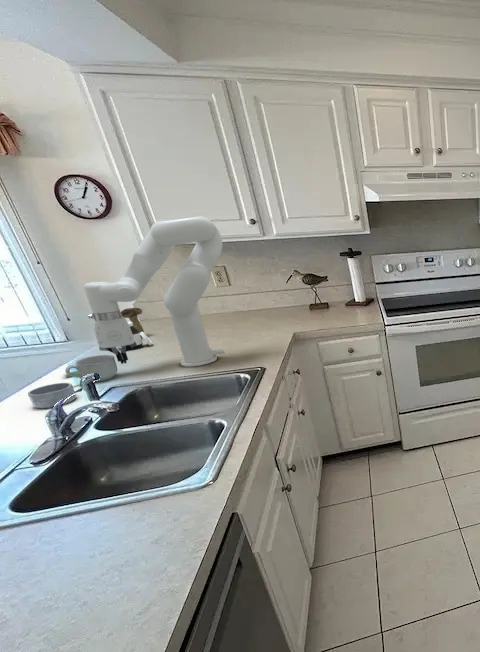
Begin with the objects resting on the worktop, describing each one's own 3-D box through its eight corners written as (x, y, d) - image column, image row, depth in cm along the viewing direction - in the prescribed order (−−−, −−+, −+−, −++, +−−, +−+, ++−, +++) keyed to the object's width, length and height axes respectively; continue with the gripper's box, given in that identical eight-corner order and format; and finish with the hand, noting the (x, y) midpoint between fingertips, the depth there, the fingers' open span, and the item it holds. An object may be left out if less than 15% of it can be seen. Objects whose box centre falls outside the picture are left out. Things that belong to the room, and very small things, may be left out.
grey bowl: (77, 393, 143) (71, 380, 141) (76, 402, 136) (70, 389, 134) (36, 402, 137) (29, 388, 135) (33, 412, 130) (26, 398, 128)
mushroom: (152, 337, 205) (142, 307, 200) (130, 341, 200) (119, 310, 194) (148, 333, 211) (139, 305, 206) (127, 337, 205) (116, 307, 200)
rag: (91, 369, 164) (91, 368, 164) (91, 373, 161) (91, 371, 160) (67, 374, 160) (66, 373, 159) (66, 378, 156) (66, 376, 156)
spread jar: (115, 349, 188) (105, 324, 184) (142, 342, 198) (134, 318, 194) (131, 352, 184) (122, 327, 180) (158, 344, 194) (150, 320, 190)
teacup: (117, 371, 163) (110, 352, 160) (124, 377, 156) (116, 358, 153) (69, 382, 153) (60, 362, 150) (73, 389, 146) (64, 368, 143)
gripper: (79, 321, 144) (97, 369, 151) (134, 315, 154) (149, 361, 161) (80, 317, 150) (97, 364, 156) (133, 311, 159) (147, 356, 166)
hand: (123, 362), depth 158 cm, fingers closed
